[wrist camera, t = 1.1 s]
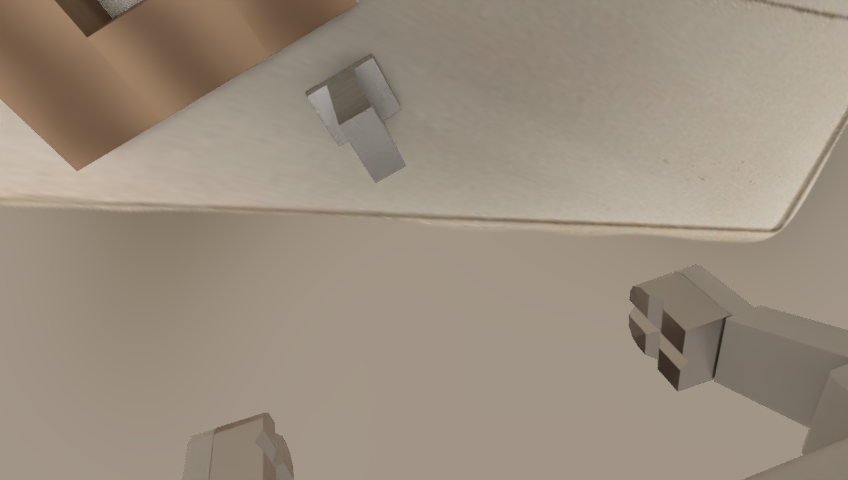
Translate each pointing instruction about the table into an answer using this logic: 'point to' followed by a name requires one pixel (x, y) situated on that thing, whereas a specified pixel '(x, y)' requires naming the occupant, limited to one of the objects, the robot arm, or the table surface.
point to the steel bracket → (360, 114)
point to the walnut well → (133, 61)
